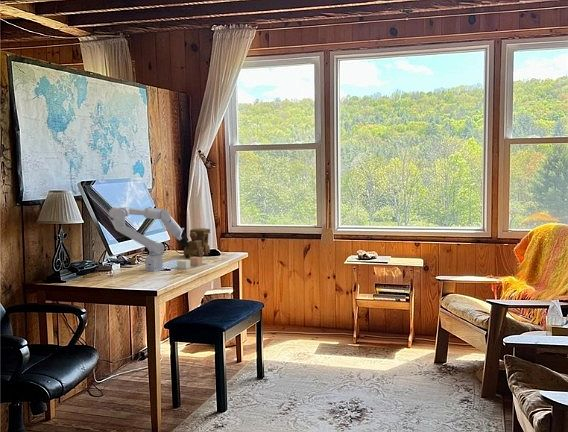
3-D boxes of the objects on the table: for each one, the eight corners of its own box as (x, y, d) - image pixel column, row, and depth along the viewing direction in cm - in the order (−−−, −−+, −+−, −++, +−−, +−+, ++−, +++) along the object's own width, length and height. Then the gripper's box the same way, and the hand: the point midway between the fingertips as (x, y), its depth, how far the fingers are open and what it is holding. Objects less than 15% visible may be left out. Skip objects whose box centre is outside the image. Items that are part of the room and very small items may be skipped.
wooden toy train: (195, 253, 374) (195, 228, 372) (212, 254, 371) (211, 228, 369) (182, 258, 354) (181, 231, 353) (199, 259, 351) (198, 232, 350)
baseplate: (186, 271, 313) (186, 262, 313) (170, 269, 318) (170, 261, 318) (208, 264, 332) (208, 256, 331) (193, 263, 337) (193, 255, 336)
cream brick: (186, 268, 317) (185, 261, 317) (177, 267, 320) (177, 260, 319) (190, 267, 320) (190, 260, 320) (181, 266, 323) (181, 259, 323)
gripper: (179, 227, 313) (194, 244, 319) (177, 217, 327) (192, 234, 332) (169, 234, 314) (184, 252, 319) (167, 224, 327) (182, 241, 332)
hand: (187, 243), depth 326 cm, fingers open, 7 cm apart
